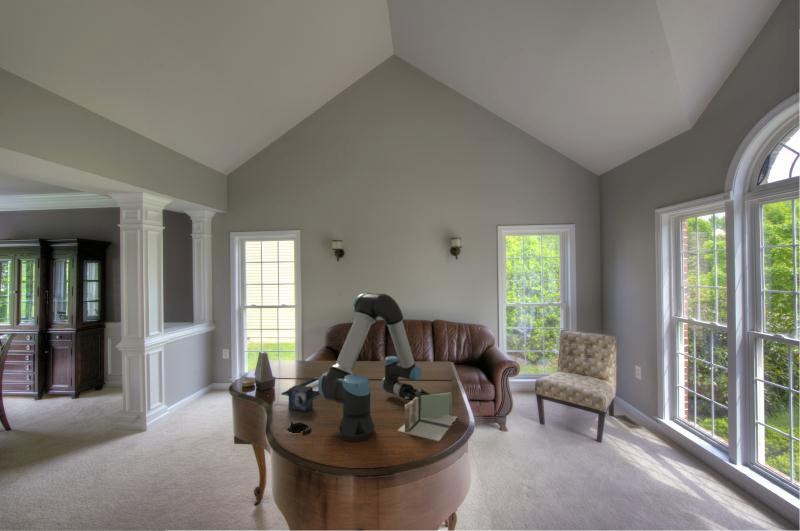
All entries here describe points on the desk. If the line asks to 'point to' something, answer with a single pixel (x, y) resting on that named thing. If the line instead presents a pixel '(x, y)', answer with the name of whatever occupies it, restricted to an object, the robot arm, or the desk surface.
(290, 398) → the small box
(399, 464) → the desk surface
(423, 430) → the card
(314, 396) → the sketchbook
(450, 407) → the hinged panel
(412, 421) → the fixed fence
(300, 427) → the black jagged lump
